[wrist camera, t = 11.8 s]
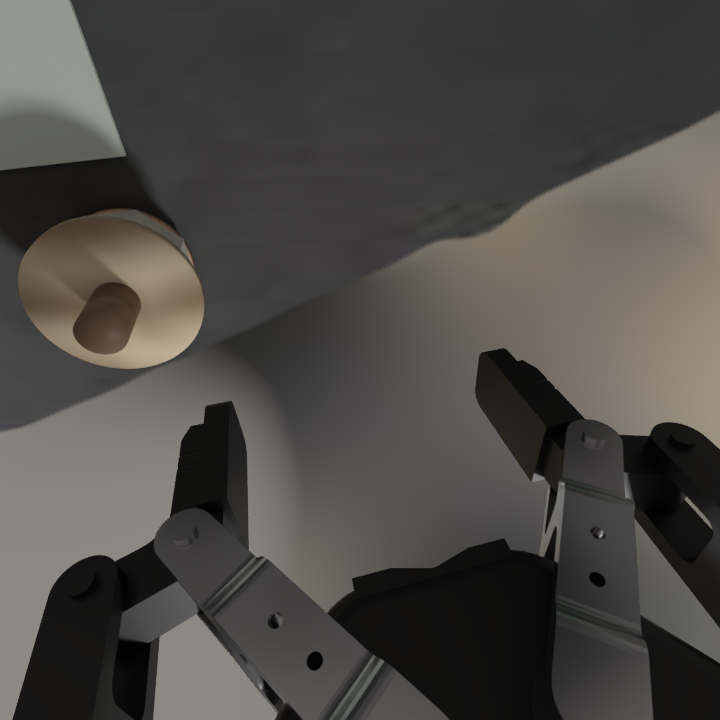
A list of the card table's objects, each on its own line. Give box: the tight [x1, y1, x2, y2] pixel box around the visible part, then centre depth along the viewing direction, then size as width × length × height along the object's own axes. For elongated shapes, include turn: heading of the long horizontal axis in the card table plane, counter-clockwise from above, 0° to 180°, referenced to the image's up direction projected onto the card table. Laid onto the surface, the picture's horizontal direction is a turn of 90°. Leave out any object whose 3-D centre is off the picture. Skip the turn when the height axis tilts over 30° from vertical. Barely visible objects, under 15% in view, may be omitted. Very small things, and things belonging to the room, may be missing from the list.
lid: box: [18, 216, 205, 369], centre depth 30 cm, size 12×12×6 cm
